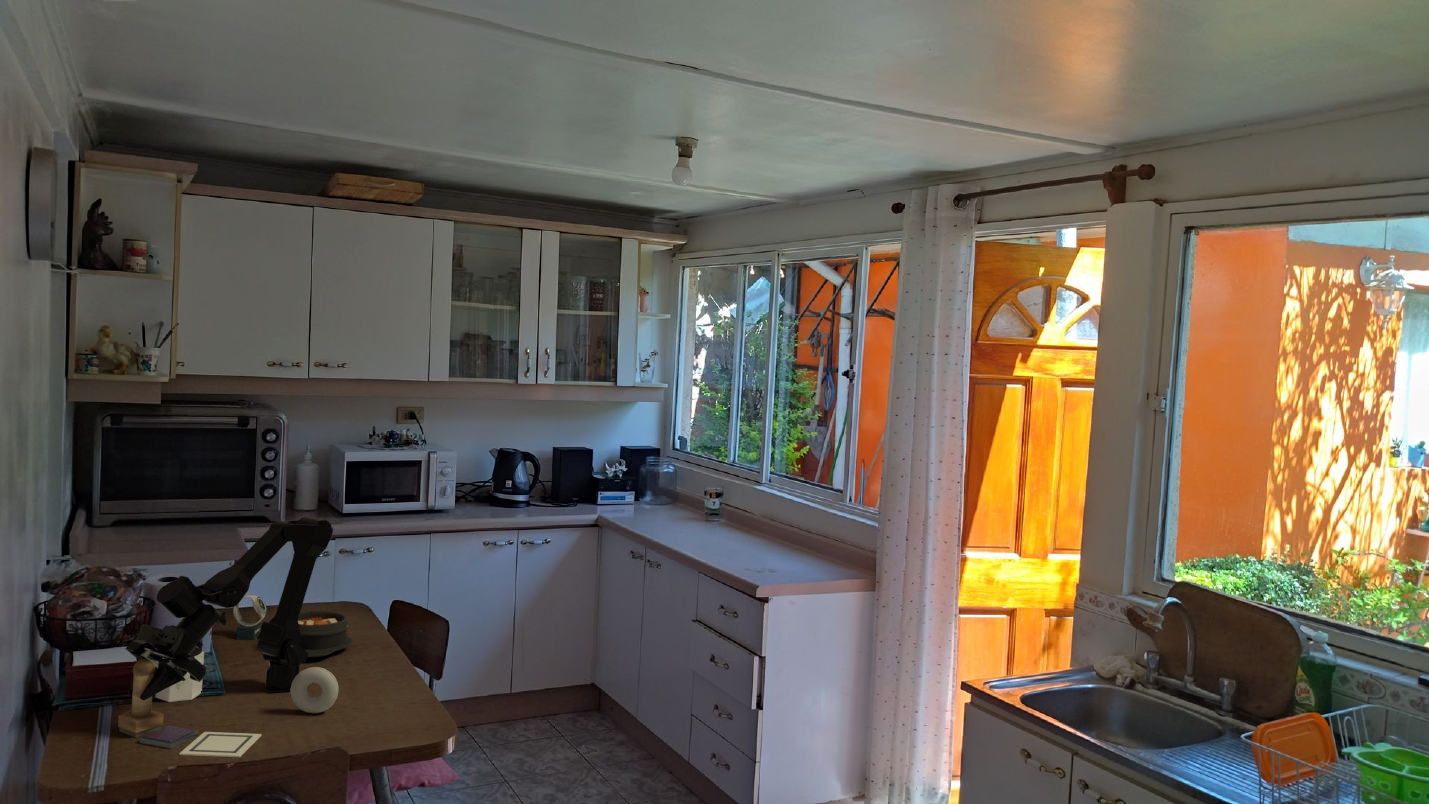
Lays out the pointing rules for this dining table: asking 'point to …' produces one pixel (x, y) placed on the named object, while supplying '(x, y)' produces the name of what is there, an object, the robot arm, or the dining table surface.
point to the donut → (309, 702)
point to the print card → (220, 744)
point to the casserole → (323, 632)
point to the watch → (250, 629)
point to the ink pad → (168, 737)
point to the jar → (184, 684)
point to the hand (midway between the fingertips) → (135, 697)
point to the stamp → (141, 704)
